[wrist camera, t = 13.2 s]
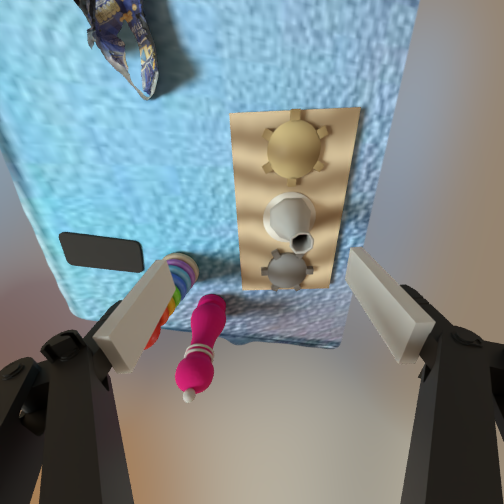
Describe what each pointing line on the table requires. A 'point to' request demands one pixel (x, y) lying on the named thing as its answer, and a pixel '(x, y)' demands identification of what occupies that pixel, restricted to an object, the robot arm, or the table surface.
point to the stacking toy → (177, 286)
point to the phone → (101, 252)
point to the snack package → (105, 35)
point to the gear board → (290, 190)
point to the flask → (293, 223)
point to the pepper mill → (201, 347)
